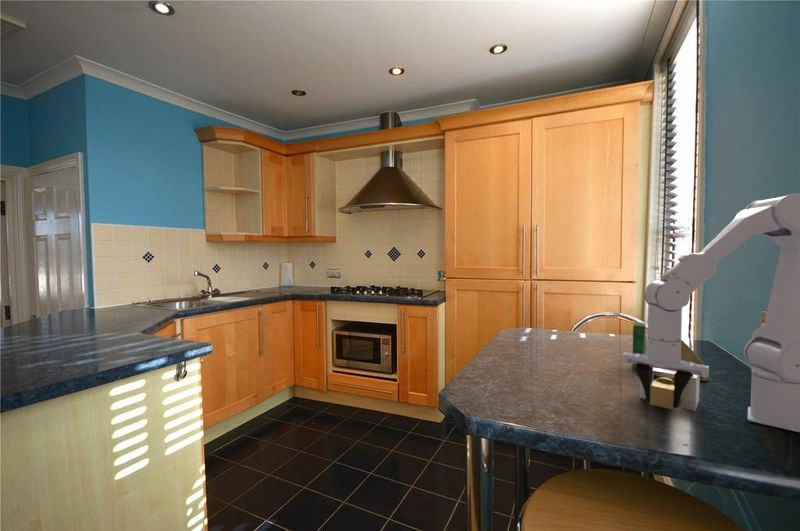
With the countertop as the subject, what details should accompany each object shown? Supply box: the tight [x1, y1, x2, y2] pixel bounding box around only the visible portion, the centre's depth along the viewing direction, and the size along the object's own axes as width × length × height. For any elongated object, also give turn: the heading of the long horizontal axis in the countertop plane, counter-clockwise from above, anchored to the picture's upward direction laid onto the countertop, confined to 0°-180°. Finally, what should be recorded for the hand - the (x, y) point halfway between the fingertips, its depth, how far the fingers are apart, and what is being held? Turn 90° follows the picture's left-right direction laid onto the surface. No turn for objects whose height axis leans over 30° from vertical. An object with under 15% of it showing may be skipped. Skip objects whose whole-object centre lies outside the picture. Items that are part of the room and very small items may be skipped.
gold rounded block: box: [649, 377, 682, 411], centre depth 81 cm, size 12×6×6 cm, turn 137°
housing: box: [639, 367, 701, 412], centre depth 84 cm, size 10×7×7 cm
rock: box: [681, 339, 710, 382], centre depth 100 cm, size 11×9×10 cm
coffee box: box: [631, 321, 647, 373], centre depth 107 cm, size 8×3×13 cm, turn 144°
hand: (662, 403), depth 78 cm, fingers closed on gold rounded block, 4 cm apart
